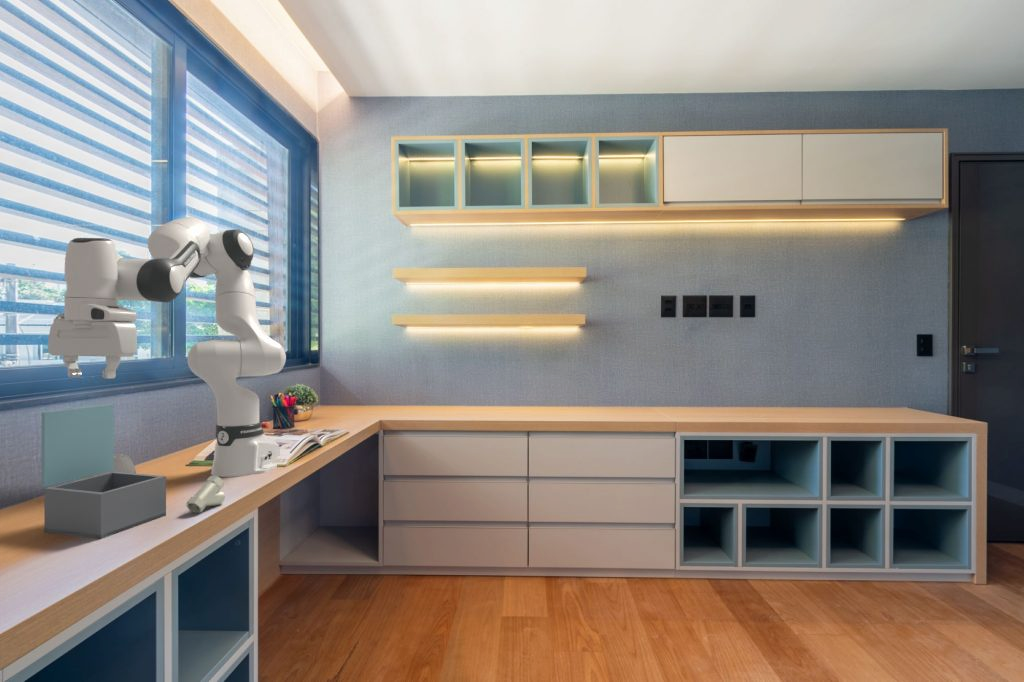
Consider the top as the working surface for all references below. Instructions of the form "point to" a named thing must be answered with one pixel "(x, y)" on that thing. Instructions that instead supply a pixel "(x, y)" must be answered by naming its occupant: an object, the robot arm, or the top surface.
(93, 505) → the box
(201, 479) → the top surface
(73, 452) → the lid
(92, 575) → the top surface
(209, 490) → the pipe fitting
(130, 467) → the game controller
